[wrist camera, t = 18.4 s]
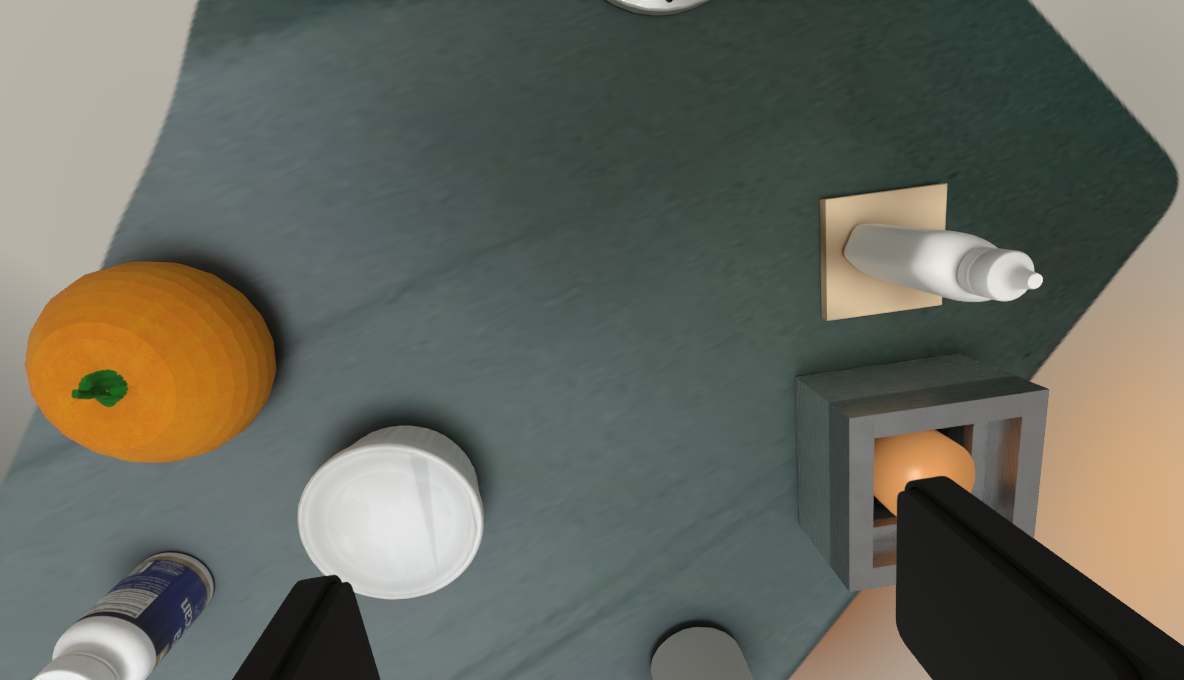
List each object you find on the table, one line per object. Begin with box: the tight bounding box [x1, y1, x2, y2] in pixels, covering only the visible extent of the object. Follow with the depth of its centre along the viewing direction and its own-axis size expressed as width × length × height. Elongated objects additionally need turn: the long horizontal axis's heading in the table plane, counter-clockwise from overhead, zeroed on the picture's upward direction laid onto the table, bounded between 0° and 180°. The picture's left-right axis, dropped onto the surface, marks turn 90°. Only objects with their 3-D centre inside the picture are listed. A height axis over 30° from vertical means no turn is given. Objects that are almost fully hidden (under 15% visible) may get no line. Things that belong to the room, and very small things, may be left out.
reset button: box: [874, 430, 975, 517], centre depth 38 cm, size 6×6×6 cm
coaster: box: [820, 184, 947, 321], centre depth 37 cm, size 8×8×1 cm
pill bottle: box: [33, 553, 213, 680], centre depth 35 cm, size 5×5×10 cm
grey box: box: [795, 353, 1049, 592], centre depth 37 cm, size 12×12×8 cm
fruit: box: [25, 261, 277, 462], centre depth 31 cm, size 12×12×10 cm
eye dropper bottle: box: [844, 223, 1043, 302], centre depth 31 cm, size 4×6×12 cm
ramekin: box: [298, 426, 484, 599], centre depth 37 cm, size 11×11×5 cm
